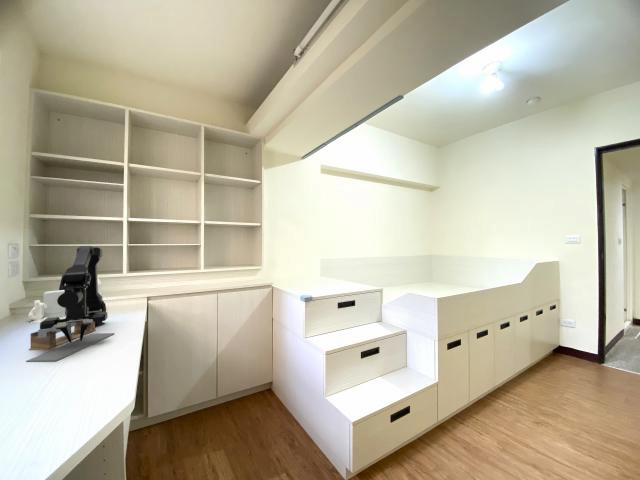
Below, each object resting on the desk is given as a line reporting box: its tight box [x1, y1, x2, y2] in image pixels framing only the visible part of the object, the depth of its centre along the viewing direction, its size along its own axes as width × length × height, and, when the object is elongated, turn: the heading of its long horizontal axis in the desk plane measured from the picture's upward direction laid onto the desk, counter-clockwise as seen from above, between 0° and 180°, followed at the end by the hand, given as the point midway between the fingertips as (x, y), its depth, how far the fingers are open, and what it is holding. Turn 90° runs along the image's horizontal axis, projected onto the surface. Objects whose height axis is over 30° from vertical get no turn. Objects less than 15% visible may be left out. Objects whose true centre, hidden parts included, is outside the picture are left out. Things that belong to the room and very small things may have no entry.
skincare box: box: [42, 289, 66, 318], centre depth 140 cm, size 8×6×15 cm
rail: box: [37, 315, 88, 338], centre depth 107 cm, size 22×3×3 cm, turn 9°
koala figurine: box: [28, 299, 47, 324], centre depth 131 cm, size 8×7×12 cm
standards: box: [28, 322, 97, 351], centre depth 107 cm, size 22×7×6 cm, turn 2°
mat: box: [25, 332, 115, 363], centre depth 100 cm, size 10×26×1 cm, turn 2°
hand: (76, 341), depth 100 cm, fingers open, 3 cm apart
